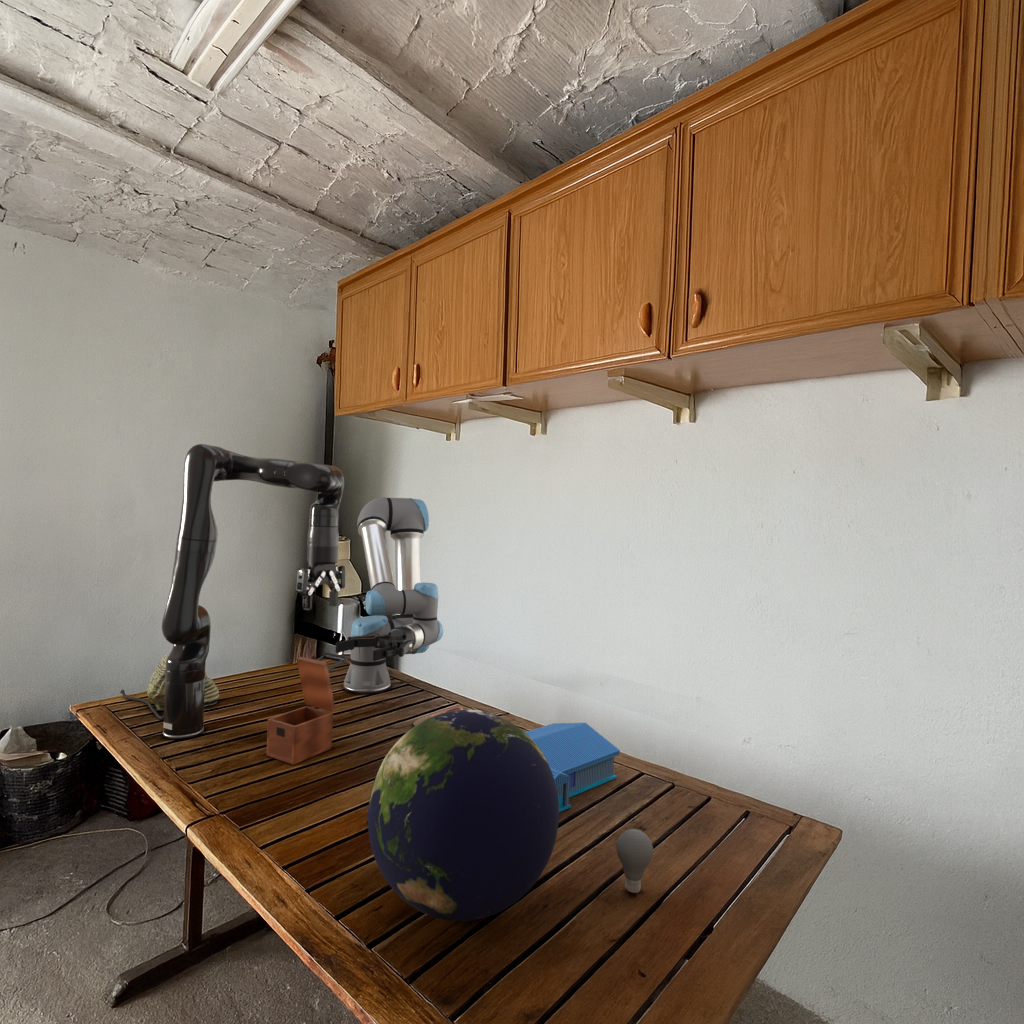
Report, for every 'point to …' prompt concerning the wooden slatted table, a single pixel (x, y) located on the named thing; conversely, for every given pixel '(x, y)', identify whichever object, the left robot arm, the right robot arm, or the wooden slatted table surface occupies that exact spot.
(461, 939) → the wooden slatted table surface
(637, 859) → the light bulb
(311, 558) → the left robot arm
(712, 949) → the wooden slatted table surface
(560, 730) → the model building
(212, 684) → the fossil
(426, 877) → the globe
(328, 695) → the lid
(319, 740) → the chest
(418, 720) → the anatomical model
